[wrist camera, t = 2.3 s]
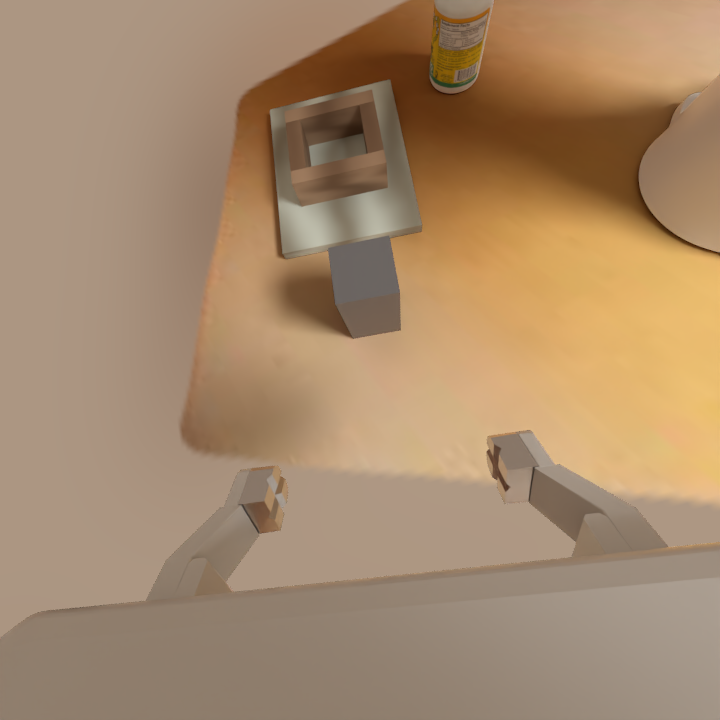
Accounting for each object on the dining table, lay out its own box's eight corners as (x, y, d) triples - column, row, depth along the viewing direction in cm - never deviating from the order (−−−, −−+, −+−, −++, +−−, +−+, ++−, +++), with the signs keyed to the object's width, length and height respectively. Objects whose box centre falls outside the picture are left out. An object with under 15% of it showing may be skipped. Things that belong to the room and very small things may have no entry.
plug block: (392, 286, 30) (389, 235, 22) (400, 330, 29) (399, 292, 21) (346, 295, 30) (327, 248, 23) (353, 338, 29) (335, 304, 22)
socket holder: (390, 88, 35) (388, 46, 32) (421, 231, 31) (424, 202, 27) (273, 118, 37) (258, 81, 33) (286, 259, 32) (270, 235, 28)
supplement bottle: (465, 100, 34) (489, -26, 24) (420, 89, 35) (427, -36, 26) (486, 64, 35) (516, -72, 25) (441, 54, 36) (454, -79, 26)
